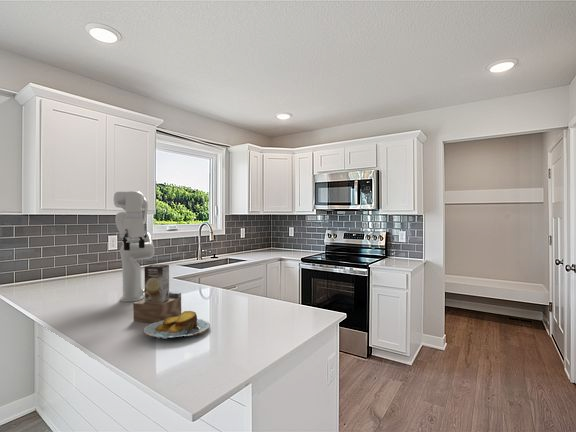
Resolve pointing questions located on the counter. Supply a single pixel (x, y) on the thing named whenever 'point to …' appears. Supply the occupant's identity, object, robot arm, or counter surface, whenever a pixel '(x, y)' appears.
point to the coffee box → (156, 283)
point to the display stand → (157, 309)
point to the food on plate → (177, 326)
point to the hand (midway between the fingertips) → (134, 249)
